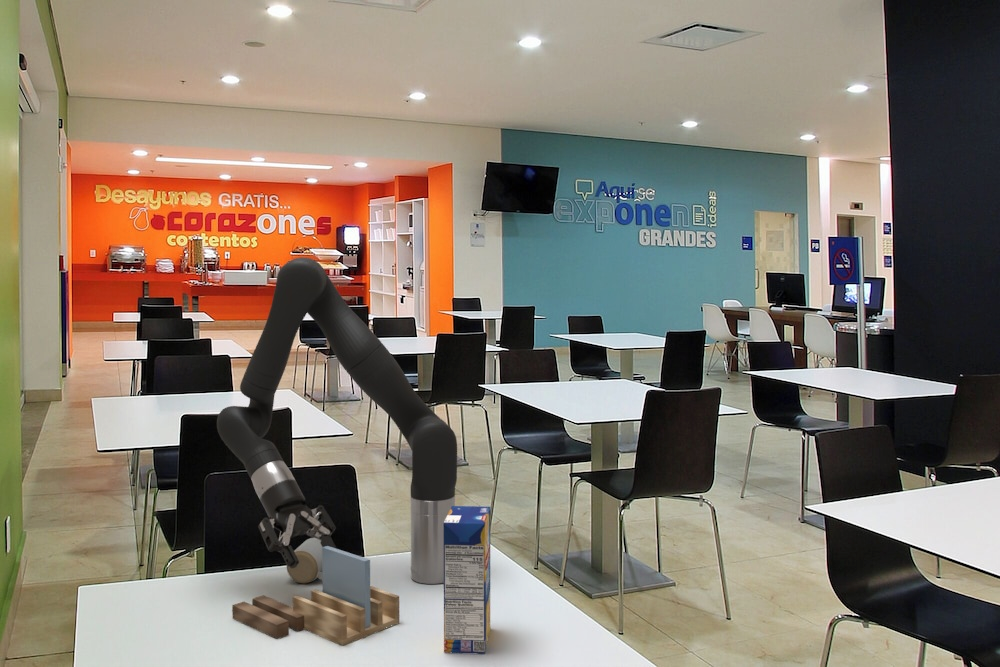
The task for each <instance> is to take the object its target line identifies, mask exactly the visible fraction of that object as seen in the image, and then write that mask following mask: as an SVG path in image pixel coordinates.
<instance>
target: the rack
mask: <svg viewBox="0 0 1000 667" xmlns="http://www.w3.org/2000/svg"><path fill="white" fill-rule="evenodd" d="M310 596H311V597H310V598H311V599H307V598H305V597H302V596H299V595H296V596H293V597H292V607H293V611H295V612H297V613H300V614H302V615H304V629H303V630H305V631H308V632H310V633H312V634H315V635H317V636H319V637H321V638H324V639H326V640H329V641H330V642H333V643H335V644H338V645H340V646H342V647H343V646H345V645H348V644H350V643H354V642H356V641H359V640H361V639H363V638H365V637H368V636H370V634H371V635H373V634H375V632H376V633H377V631H378V632H381V631H383V630H385V629H384V628H386V627H388V628H390V627H389V626H391V625H393V626H395V625H394V624H396V625H398V624H400V595H397V594H394V593H392V592H389V591H386V590H384V589H380V588H378V587H375V586H372V585H370V614H371V627H368V628H365V608H362V607H360V606H357V605H354V604H352V603H349V602H346V601H344V600H341V599H339V598H336V597H333V596H331V595H328V594H326V593H323V591H320V590H317V589H314V590H311V591H310ZM397 623H398V624H397ZM391 627H392V626H391ZM382 629H383V630H382ZM386 629H387V628H386ZM380 630H381V631H380ZM372 633H373V634H372Z"/></svg>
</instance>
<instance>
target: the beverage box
mask: <svg viewBox="0 0 1000 667" xmlns="http://www.w3.org/2000/svg"><path fill="white" fill-rule="evenodd" d="M490 631H491V506H479V505H478V506H477V505H476V506H473V505H472V506H471V505H467V506H466V505H455V506H452V507H451V509H450V511H449V513H448V515H447V517H446V519H445V521H444V583H443V653H444V652H448V653H447V654H462V653H482V654H481V655H485V654H486V651H487V645H488V642H487V641H488V640H489V637H488V636H490ZM485 650H486V651H485ZM450 652H452V653H450ZM484 653H485V654H484Z"/></svg>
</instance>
